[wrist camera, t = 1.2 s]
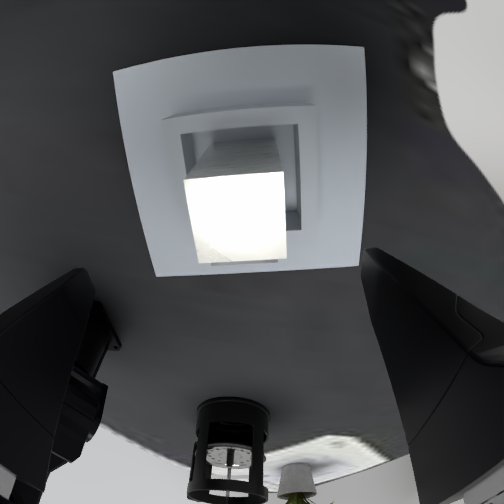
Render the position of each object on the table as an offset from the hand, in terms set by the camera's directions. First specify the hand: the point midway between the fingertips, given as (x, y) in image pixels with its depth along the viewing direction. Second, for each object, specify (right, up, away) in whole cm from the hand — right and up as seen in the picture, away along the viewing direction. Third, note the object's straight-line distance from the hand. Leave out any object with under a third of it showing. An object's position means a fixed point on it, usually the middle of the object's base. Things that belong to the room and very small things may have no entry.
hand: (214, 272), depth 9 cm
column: (+1, +6, +11) cm, 13 cm away
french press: (-2, -21, +27) cm, 34 cm away
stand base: (+1, +6, +11) cm, 13 cm away
